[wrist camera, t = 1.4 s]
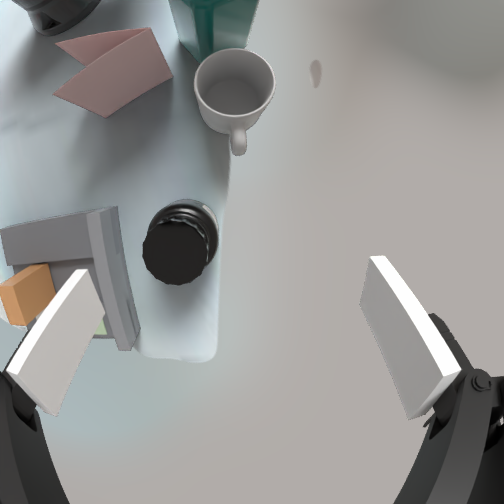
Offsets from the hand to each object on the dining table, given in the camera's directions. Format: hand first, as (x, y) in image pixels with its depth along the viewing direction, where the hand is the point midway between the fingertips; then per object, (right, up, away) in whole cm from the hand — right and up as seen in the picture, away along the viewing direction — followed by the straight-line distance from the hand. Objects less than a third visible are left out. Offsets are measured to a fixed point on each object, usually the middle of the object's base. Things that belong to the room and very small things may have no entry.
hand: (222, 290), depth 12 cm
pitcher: (-4, +33, +19) cm, 38 cm away
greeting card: (-16, +24, +20) cm, 35 cm away
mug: (-2, +20, +23) cm, 30 cm away
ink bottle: (-8, +5, +26) cm, 28 cm away
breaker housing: (-30, -2, +25) cm, 39 cm away
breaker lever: (-33, -3, +23) cm, 41 cm away
